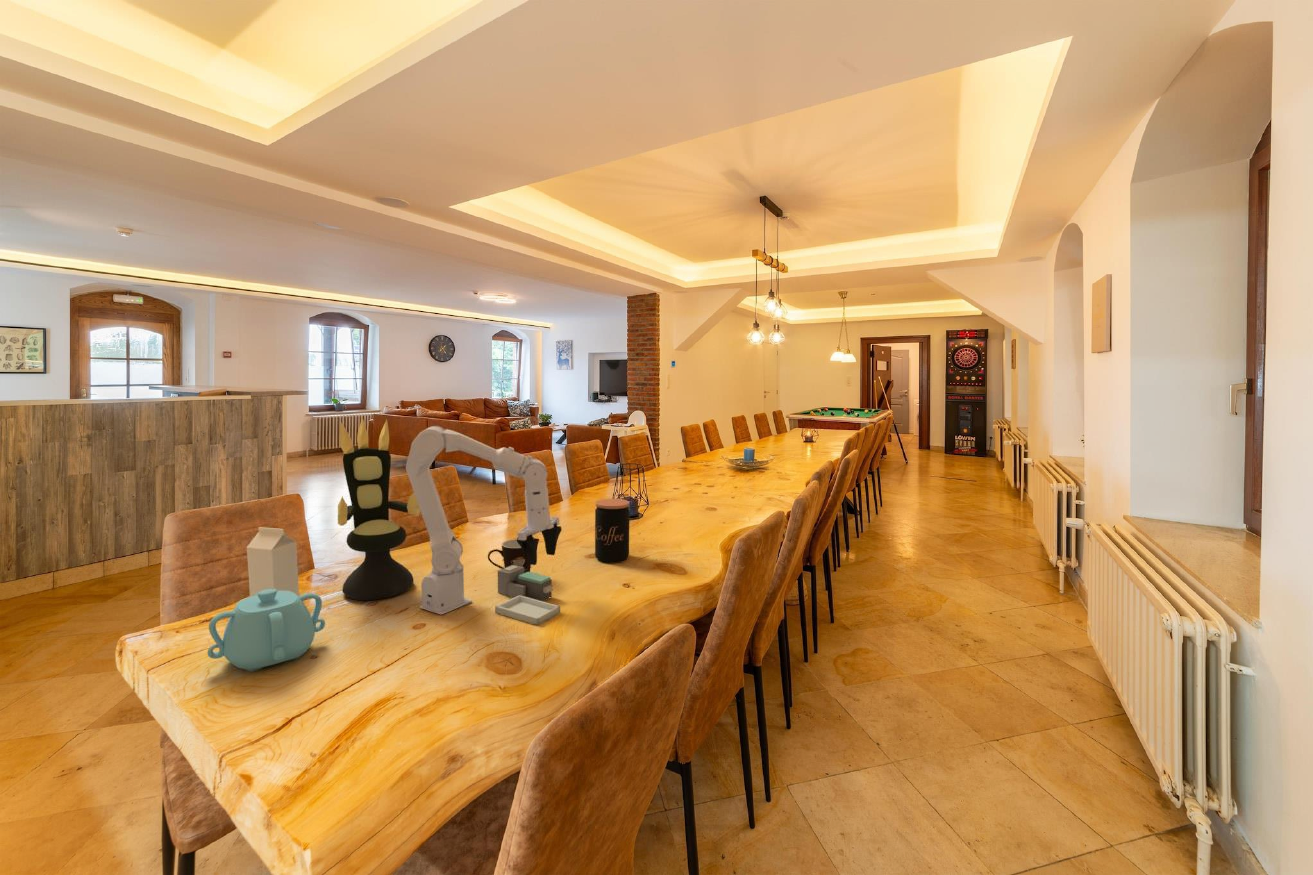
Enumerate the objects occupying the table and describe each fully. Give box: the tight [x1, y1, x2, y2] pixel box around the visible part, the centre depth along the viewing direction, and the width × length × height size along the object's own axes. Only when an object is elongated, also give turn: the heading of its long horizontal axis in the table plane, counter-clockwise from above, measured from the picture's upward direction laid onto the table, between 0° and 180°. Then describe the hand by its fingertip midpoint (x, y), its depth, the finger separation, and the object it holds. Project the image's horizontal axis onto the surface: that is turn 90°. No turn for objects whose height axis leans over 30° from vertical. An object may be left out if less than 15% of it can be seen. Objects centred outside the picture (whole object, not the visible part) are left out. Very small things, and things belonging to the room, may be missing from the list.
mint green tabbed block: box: [517, 571, 554, 602], centre depth 144 cm, size 4×9×6 cm, turn 60°
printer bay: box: [497, 565, 526, 598], centre depth 147 cm, size 7×9×6 cm
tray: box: [494, 595, 561, 626], centre depth 134 cm, size 8×13×2 cm, turn 60°
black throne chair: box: [337, 417, 421, 601], centre depth 146 cm, size 19×22×45 cm
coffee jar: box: [594, 498, 631, 564], centre depth 175 cm, size 11×11×18 cm
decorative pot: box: [207, 589, 326, 672], centre depth 111 cm, size 16×16×14 cm
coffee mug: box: [487, 538, 532, 573], centre depth 157 cm, size 12×9×10 cm
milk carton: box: [246, 526, 300, 597], centre depth 136 cm, size 7×7×19 cm
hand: (541, 559), depth 143 cm, fingers open, 7 cm apart
